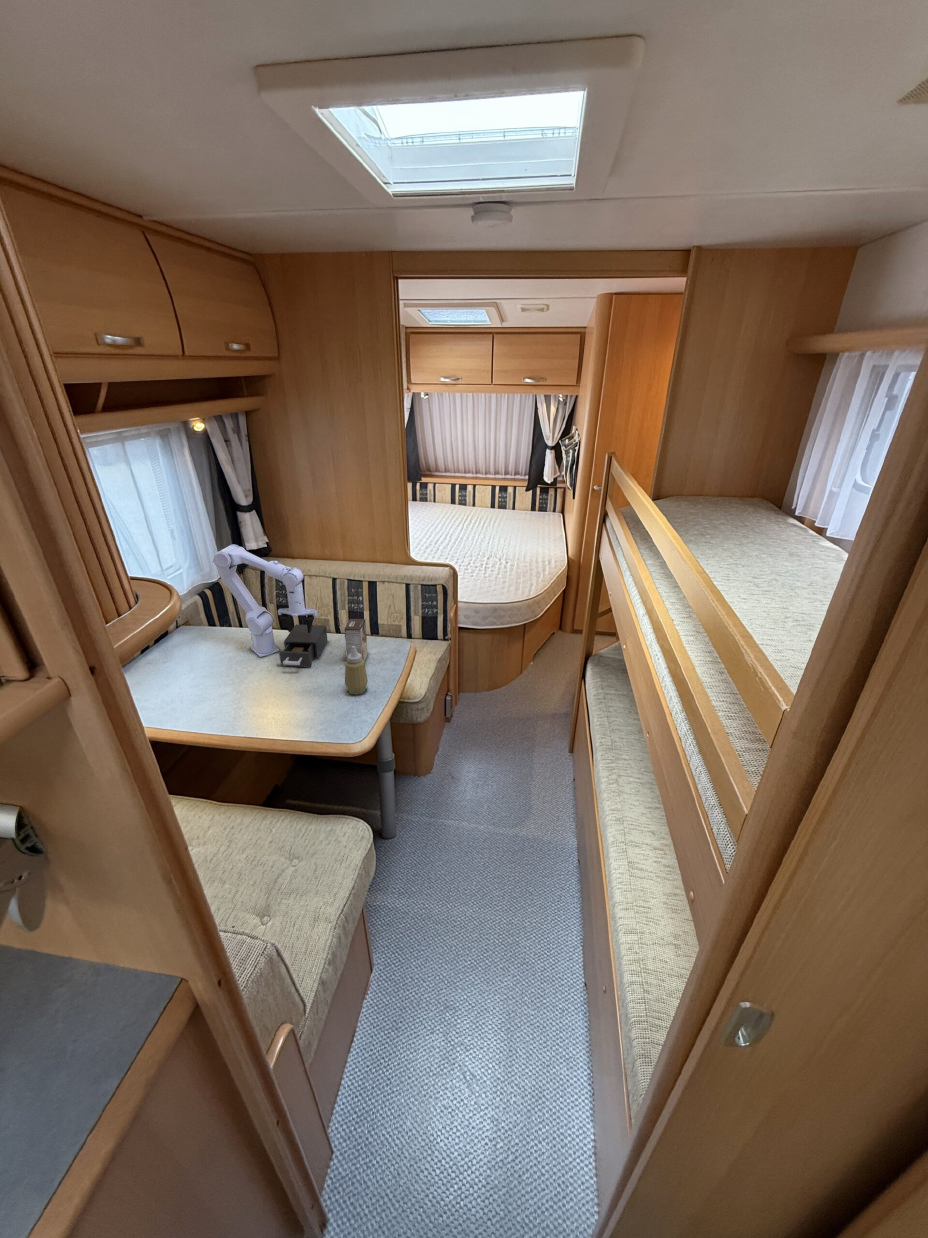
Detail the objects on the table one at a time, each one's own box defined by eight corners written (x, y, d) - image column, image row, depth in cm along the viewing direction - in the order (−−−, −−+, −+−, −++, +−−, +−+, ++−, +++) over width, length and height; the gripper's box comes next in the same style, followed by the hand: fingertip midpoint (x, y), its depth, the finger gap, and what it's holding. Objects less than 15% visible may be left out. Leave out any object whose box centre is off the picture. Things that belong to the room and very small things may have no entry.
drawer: (307, 673, 184) (305, 659, 182) (276, 671, 184) (274, 658, 182) (320, 649, 200) (319, 636, 198) (292, 648, 200) (291, 635, 198)
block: (302, 661, 189) (300, 652, 187) (291, 661, 189) (290, 652, 187) (305, 656, 193) (304, 647, 191) (295, 656, 193) (293, 647, 191)
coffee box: (352, 653, 200) (349, 618, 193) (368, 654, 200) (365, 618, 193) (346, 665, 192) (344, 628, 184) (363, 666, 192) (361, 629, 184)
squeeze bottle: (363, 681, 182) (360, 639, 174) (372, 692, 176) (369, 648, 168) (342, 688, 178) (338, 644, 170) (350, 699, 172) (346, 654, 164)
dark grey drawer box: (317, 659, 195) (315, 642, 191) (286, 658, 195) (283, 641, 191) (327, 641, 208) (326, 625, 205) (297, 640, 208) (295, 624, 205)
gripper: (273, 603, 184) (277, 635, 190) (311, 605, 184) (315, 637, 190) (279, 595, 190) (284, 627, 196) (317, 597, 190) (320, 628, 196)
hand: (300, 631), depth 193 cm, fingers open, 7 cm apart
